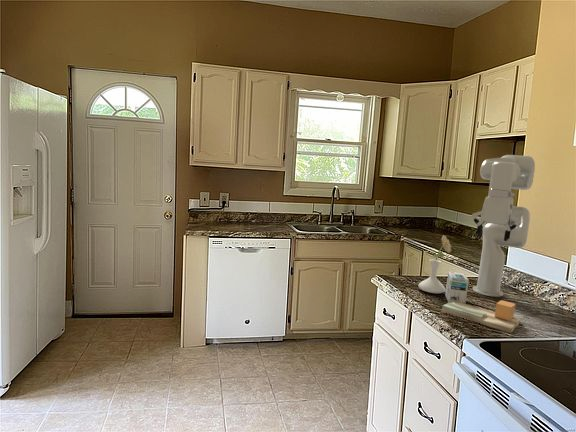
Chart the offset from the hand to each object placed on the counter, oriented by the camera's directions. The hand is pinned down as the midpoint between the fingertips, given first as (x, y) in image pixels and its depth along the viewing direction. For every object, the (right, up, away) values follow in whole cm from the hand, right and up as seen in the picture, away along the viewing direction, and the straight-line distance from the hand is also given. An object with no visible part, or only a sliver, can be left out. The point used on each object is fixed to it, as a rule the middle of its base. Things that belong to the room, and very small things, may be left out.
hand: (492, 238), depth 169 cm
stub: (0, -28, -9) cm, 30 cm away
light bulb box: (-10, -26, +12) cm, 31 cm away
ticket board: (-8, -29, -7) cm, 31 cm away
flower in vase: (-16, -24, +22) cm, 36 cm away
